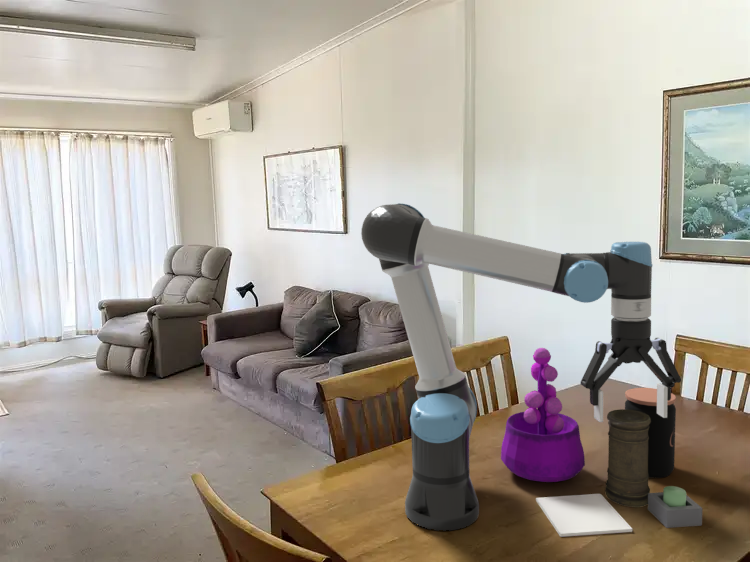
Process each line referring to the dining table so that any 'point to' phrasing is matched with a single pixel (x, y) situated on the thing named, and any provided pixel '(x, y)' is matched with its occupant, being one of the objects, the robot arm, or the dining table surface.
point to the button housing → (675, 512)
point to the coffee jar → (656, 429)
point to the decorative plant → (543, 432)
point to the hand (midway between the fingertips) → (630, 417)
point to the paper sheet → (582, 515)
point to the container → (628, 458)
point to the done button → (674, 496)
